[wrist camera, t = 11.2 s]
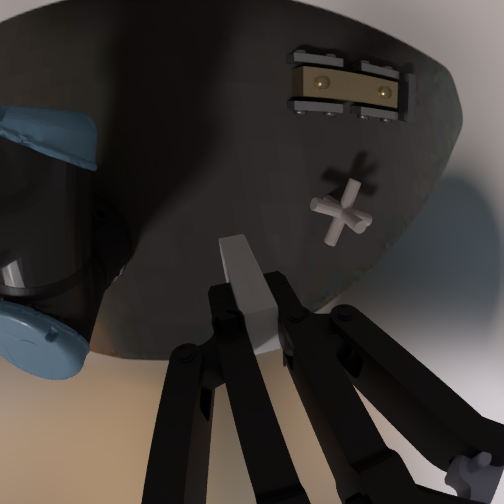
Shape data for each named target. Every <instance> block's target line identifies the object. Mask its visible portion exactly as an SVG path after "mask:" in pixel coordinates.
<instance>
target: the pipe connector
mask: <svg viewBox="0 0 504 504" xmlns="http://www.w3.org/2000/svg"><path fill="white" fill-rule="evenodd" d="M360 186H361V183H360V182H359V181H356V180H354V179H352V178H349V181H348V184H347V186H346V189H345V191H344V194H343V196H342V199H341V201H340V202H338V201H337V200H336V199H334V198H333V197H332V196H330V195H327V196H325V197H324V198H323V200H322V199H318V198H313V199H312V201H311V205H310V207H311V210H313V211H317V212H320V213H324V214H328V215H331V216H334V218H333V221H332V223H331V225H330V228H329V230H328V232H327V235H326V237H325V239H324V242H325V243H326V244H328V245H331V246H335V245H336V242H337V240H338V238H339V236H340V233H341V231H342V229H343V226H344V224H345V223H346V224H347V225H348V226H349V227H350V228H351V229H353V230H354V231H355V232H356V233H358V234H360V233H362V232H364V231H365V229H366V226H369V225H370V224H371V223H372V216H371V215H369V214H366V213H363V212H360V211H357V210H354V209H351V208H352V205H353V203H354V200H355V198H356V195H357V193H358V191H359V188H360Z"/></svg>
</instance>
